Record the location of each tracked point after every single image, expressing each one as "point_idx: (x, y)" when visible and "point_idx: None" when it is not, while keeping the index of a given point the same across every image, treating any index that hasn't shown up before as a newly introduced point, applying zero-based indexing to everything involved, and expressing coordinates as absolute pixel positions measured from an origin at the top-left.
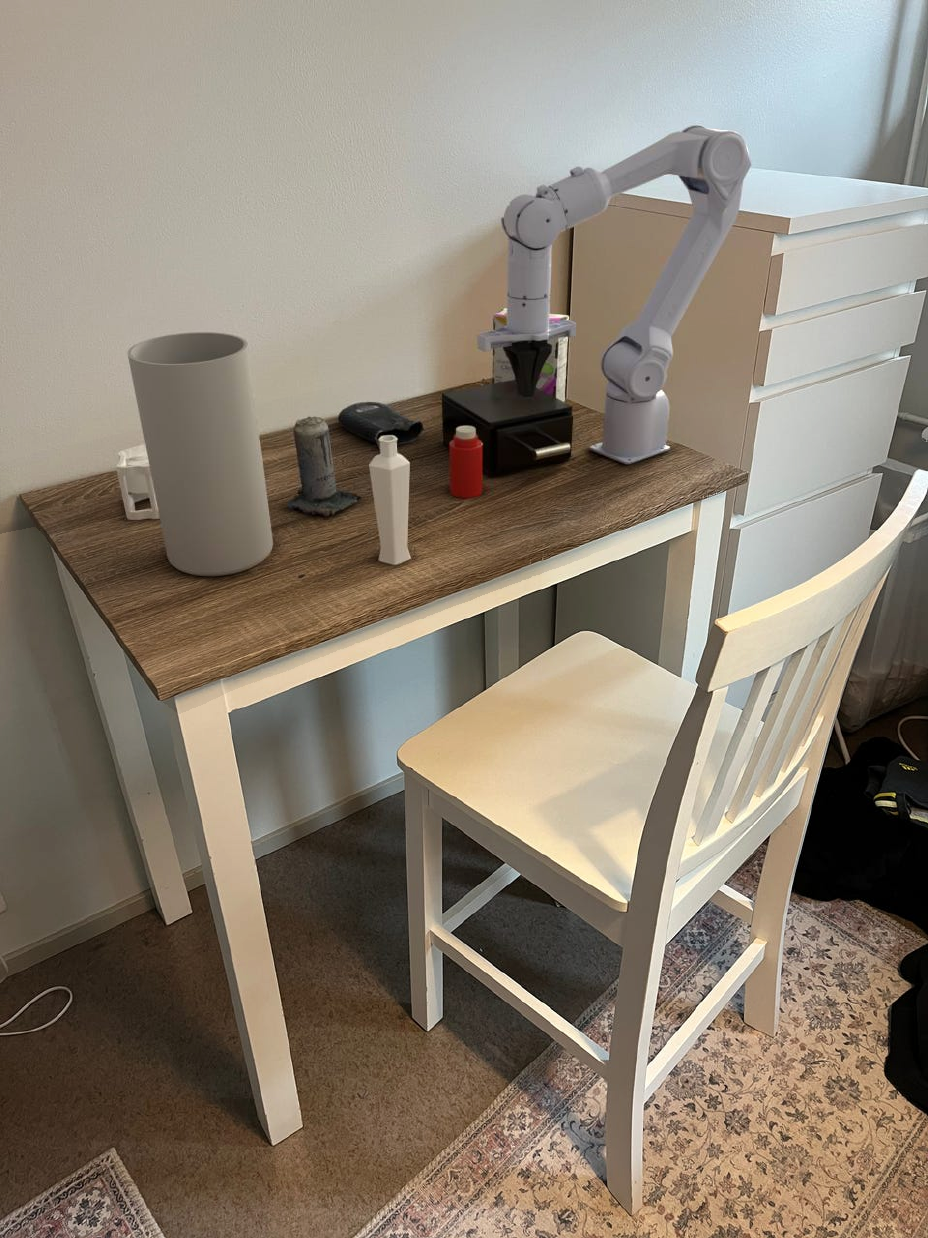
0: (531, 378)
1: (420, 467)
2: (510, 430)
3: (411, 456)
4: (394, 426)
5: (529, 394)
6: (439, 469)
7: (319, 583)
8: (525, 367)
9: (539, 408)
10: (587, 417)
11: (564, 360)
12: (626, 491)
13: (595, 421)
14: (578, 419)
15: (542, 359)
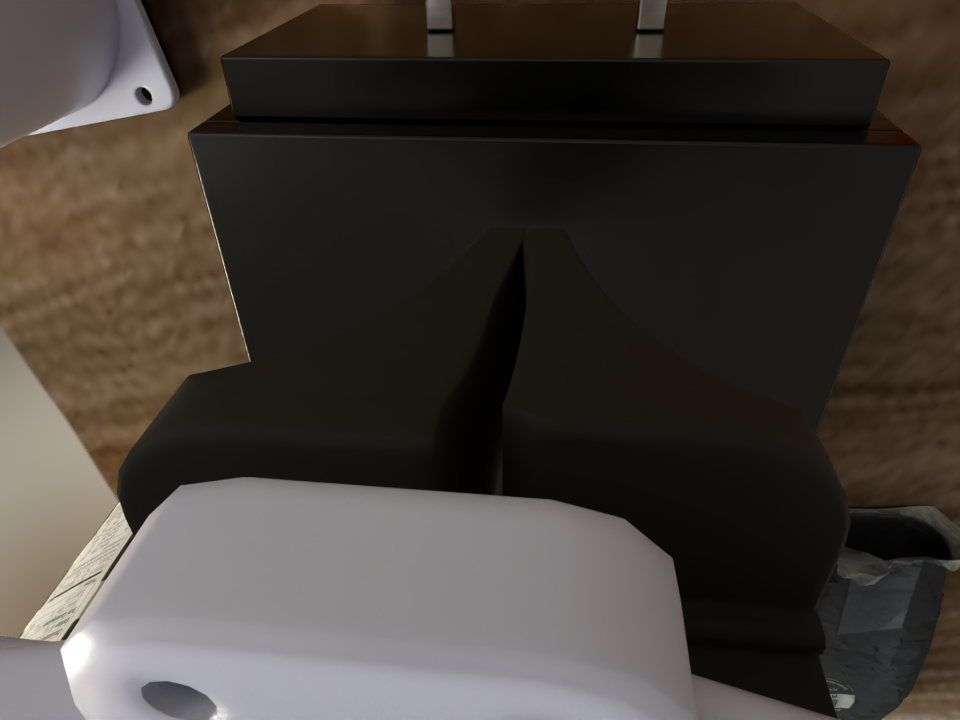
0: (506, 301)
1: (953, 313)
2: (768, 55)
3: (887, 414)
4: (888, 568)
5: (533, 230)
6: (909, 256)
7: None
8: (640, 343)
9: (424, 210)
10: (86, 387)
11: (45, 612)
12: None
13: (65, 345)
14: (124, 388)
15: (368, 355)
